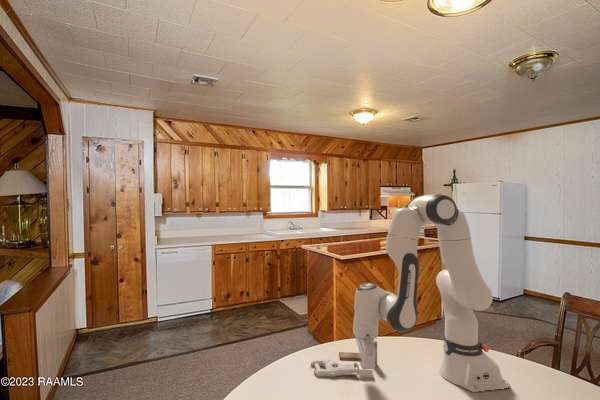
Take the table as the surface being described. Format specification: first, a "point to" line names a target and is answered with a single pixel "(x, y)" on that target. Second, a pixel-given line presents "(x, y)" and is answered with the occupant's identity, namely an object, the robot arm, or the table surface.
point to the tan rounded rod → (375, 352)
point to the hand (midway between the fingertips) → (364, 367)
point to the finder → (364, 371)
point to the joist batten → (349, 356)
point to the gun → (334, 368)
